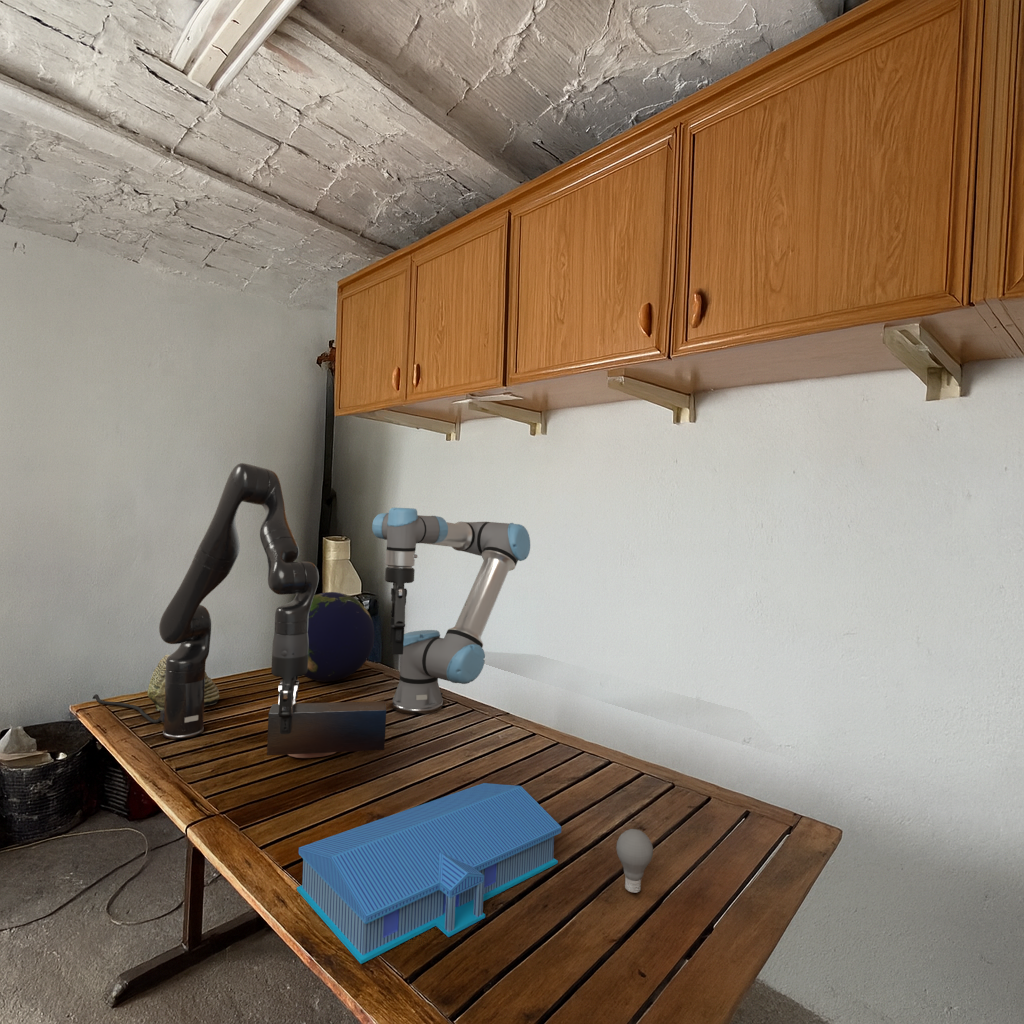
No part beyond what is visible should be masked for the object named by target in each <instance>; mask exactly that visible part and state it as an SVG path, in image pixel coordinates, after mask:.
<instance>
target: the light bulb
mask: <svg viewBox="0 0 1024 1024" xmlns="http://www.w3.org/2000/svg"><path fill="white" fill-rule="evenodd" d="M615 849H616V854H617V857H618V859H619V861H620V863H621V865H622V867H623V873H624V874H623V875H624V876H625V878H624V888H625V890H627V891H628V892H630V893H634V894H635V893H639V892H640V891H641V889H642V887H641V886H642V879H643V877H644V875H645V871H646V868H647V867H648V866H649V864H650V863H651V861H652V859H653V855H654V847H653V843H652V841H651V838H649V836H648V835H647V834H646V833H645V832H643V831H642V830H641V829H636V828H629V829H627V830H625V831H623V832H622V833H621V834H620V835H619V837H618V839H617V841H616V847H615Z"/></svg>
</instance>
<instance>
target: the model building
mask: <svg viewBox="0 0 1024 1024" xmlns="http://www.w3.org/2000/svg"><path fill="white" fill-rule="evenodd" d="M561 833H562V826H561V825H560V824H559V823H558V822H557V821H556V820H555V819H554V818H553V817H552V816H551V814H549V813H548V811H547V810H545V809H544V808H543V806H542V805H541V804H539V803H538V802H537V801H536V799H534V798H533V796H532V795H531V794H530V793H529V792H528V791H526V789H525V788H523V786H522V785H515V784H514V785H513V784H501V783H490V782H489V783H488V782H483V783H480V784H477V785H474V786H472V787H468V788H466V789H463V790H460V791H457V792H454V793H451V794H448V795H445V796H441V797H440V798H437V799H434V800H431V801H429V802H425V803H423V804H419V805H416V806H414V807H411V808H408V809H405V810H402V811H400V812H397V813H394V814H391V815H388V816H385V817H382V818H379V819H376V820H374V821H371V822H368V823H366V824H362V825H360V826H356V827H354V828H351V829H349V830H345V831H343V832H340V833H337V834H333V835H331V836H328V837H325V838H323V839H320V840H316V841H313V842H311V843H308V844H305V845H302V846H299V847H298V855H299V856H300V857H301V858H302V884H301V885H298V886H297V887H296V891H297V893H298V894H300V896H302V898H303V899H304V900H305V901H306V903H307V904H308V905H309V907H311V909H312V910H313V911H314V912H315V913H316V914H317V915H318V917H319V918H320V919H321V920H322V921H323V923H324V924H325V925H326V926H327V927H328V928H329V929H330V930H331V932H332V933H333V934H334V935H335V936H336V937H337V939H338V940H339V941H340V942H341V943H342V944H343V945H344V947H345V948H346V949H347V950H348V952H350V954H351V955H352V956H353V957H354V958H355V959H356V960H357V962H358V963H359V964H360V965H363V964H364V963H366V962H369V961H370V960H372V959H374V958H376V957H378V956H380V955H382V954H384V953H386V952H388V951H390V950H391V949H394V948H395V947H397V946H399V945H401V944H403V943H406V942H407V941H409V940H412V939H413V938H414V937H417V936H419V935H421V934H424V933H426V932H427V931H429V930H431V929H432V928H434V927H436V928H437V929H439V930H440V931H441V932H442V933H443V934H444V935H446V937H447V938H450V937H453V936H454V935H456V934H458V933H459V932H461V931H463V930H466V929H467V928H469V927H470V926H472V925H474V924H476V923H478V922H480V921H481V920H483V919H486V913H484V912H483V911H484V902H486V901H487V900H489V899H491V898H494V897H495V896H497V895H499V894H501V893H503V892H505V891H507V890H509V889H511V888H512V887H515V886H517V885H518V884H520V883H522V882H525V881H526V880H528V879H530V878H532V877H534V876H536V875H538V874H540V873H542V872H544V871H545V870H548V869H550V868H552V867H554V866H555V865H558V863H559V860H557V859H556V858H554V852H555V851H554V850H555V837H556V836H557V835H559V834H561Z"/></svg>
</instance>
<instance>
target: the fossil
mask: <svg viewBox="0 0 1024 1024" xmlns="http://www.w3.org/2000/svg"><path fill="white" fill-rule="evenodd" d="M170 655H171V654H165V655H164V656H163V657H162V658H161V659H160V660H159V662H158V663H157V666H156V667H155V669H154V670H153V672H152V675H151V677H150V680H149V684H148V688H147V697H148V699H149V700H150V701H152V703H153V704H154V706H155V711H158V712H159V711H160V712H161V711H162V710H164V705H165V674H166V660H167V658H168V657H169V656H170ZM220 698H221V696H220V690H219V688H218V686H217V685H216V683H215V682H214V681H213V679H212V678H211V677H209V675H208V674H207V672H206V671H205V693H204V707H207V706H213V705H215V704H217V703H218V701H219V699H220Z"/></svg>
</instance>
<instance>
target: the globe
mask: <svg viewBox="0 0 1024 1024" xmlns="http://www.w3.org/2000/svg"><path fill="white" fill-rule="evenodd" d="M374 626H375V625H374V621H373V617H372V616H371V614H370V612H369V611H368V609H367V608H366V607H365V606H364V605H363V604H362V603H361V602H360V601H359V600H358V599H356V598H354V597H353V596H351V595H348V594H345V593H342V592H336V591H326V592H321V593H317V594H314V597H313V600H312V604H311V607H310V611H309V619H308V639H309V647H308V670H307V673H306V674H304V675H303V677H306V678H308V679H311V680H312V681H316V682H323V683H328V682H336V681H340V680H344V679H346V678H347V677H350V676H351V675H354V673H356V672H357V671H359V670H360V669H361V668H362V666H363V665H364V664H365V663H366V662H367V660H368V659H369V657H370V655H371V653H372V650H373V648H374V643H375V627H374Z"/></svg>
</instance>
